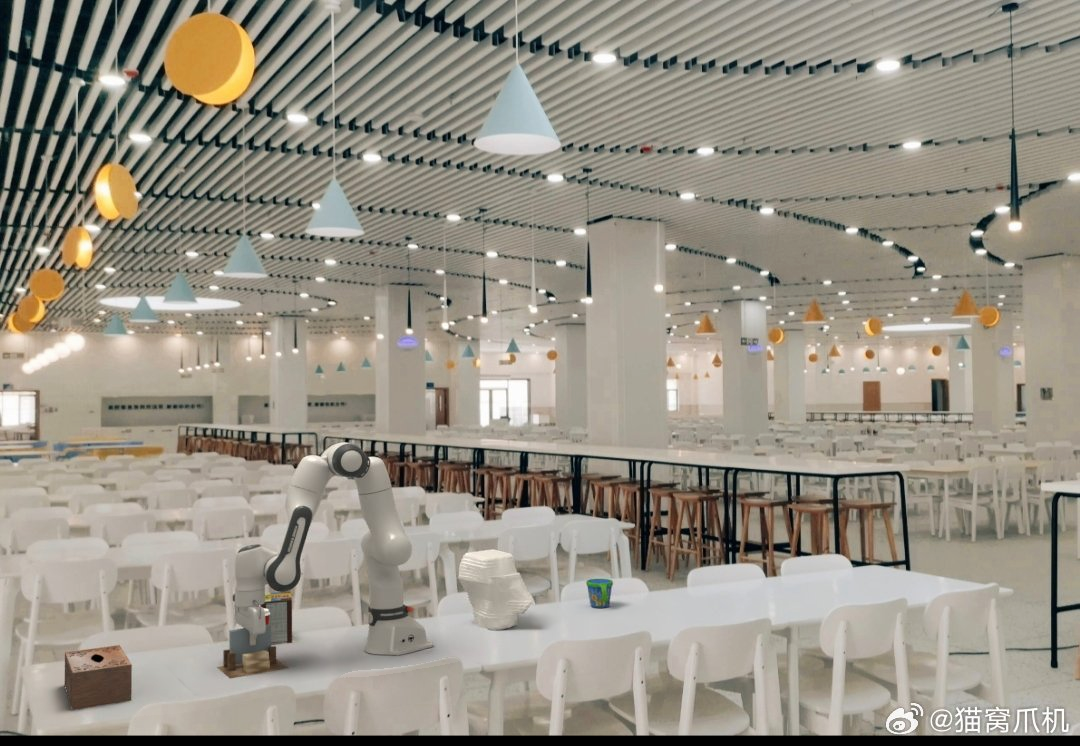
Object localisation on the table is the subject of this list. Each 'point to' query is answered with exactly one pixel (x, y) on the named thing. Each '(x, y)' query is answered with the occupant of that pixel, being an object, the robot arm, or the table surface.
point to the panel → (241, 642)
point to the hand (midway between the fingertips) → (250, 643)
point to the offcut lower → (257, 667)
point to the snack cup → (599, 592)
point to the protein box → (279, 616)
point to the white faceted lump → (494, 588)
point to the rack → (238, 669)
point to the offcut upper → (255, 657)
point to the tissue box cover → (97, 677)
